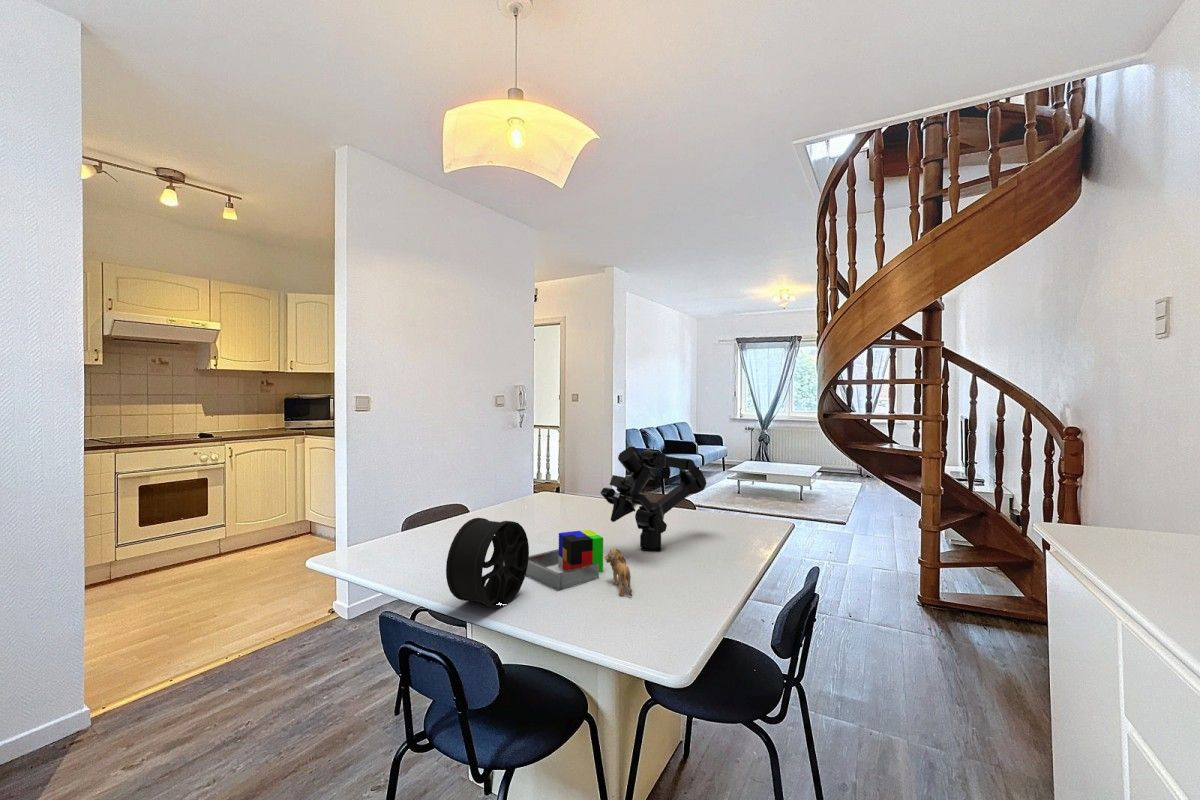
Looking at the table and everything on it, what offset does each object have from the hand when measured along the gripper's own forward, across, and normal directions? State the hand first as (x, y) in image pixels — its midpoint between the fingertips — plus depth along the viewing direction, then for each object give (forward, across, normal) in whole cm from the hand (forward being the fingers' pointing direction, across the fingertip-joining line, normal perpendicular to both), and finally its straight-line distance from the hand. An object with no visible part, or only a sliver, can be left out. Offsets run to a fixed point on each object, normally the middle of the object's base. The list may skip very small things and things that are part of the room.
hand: (612, 521), depth 157 cm
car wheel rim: (+40, +4, -23) cm, 47 cm away
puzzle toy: (+18, 0, 0) cm, 18 cm away
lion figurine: (+19, +18, -1) cm, 26 cm away
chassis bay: (+23, 0, -6) cm, 24 cm away
